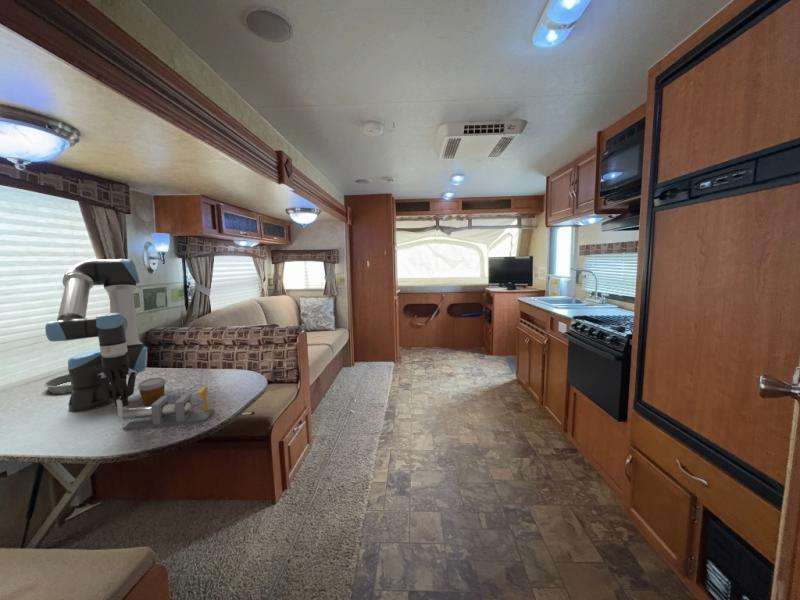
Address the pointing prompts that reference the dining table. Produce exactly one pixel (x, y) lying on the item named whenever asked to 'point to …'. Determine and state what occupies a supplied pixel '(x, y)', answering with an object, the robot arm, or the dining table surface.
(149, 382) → the disposable coffee cup
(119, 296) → the robot arm
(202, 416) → the collar bench
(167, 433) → the dining table surface
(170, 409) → the aluminium tube
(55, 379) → the cake pan
